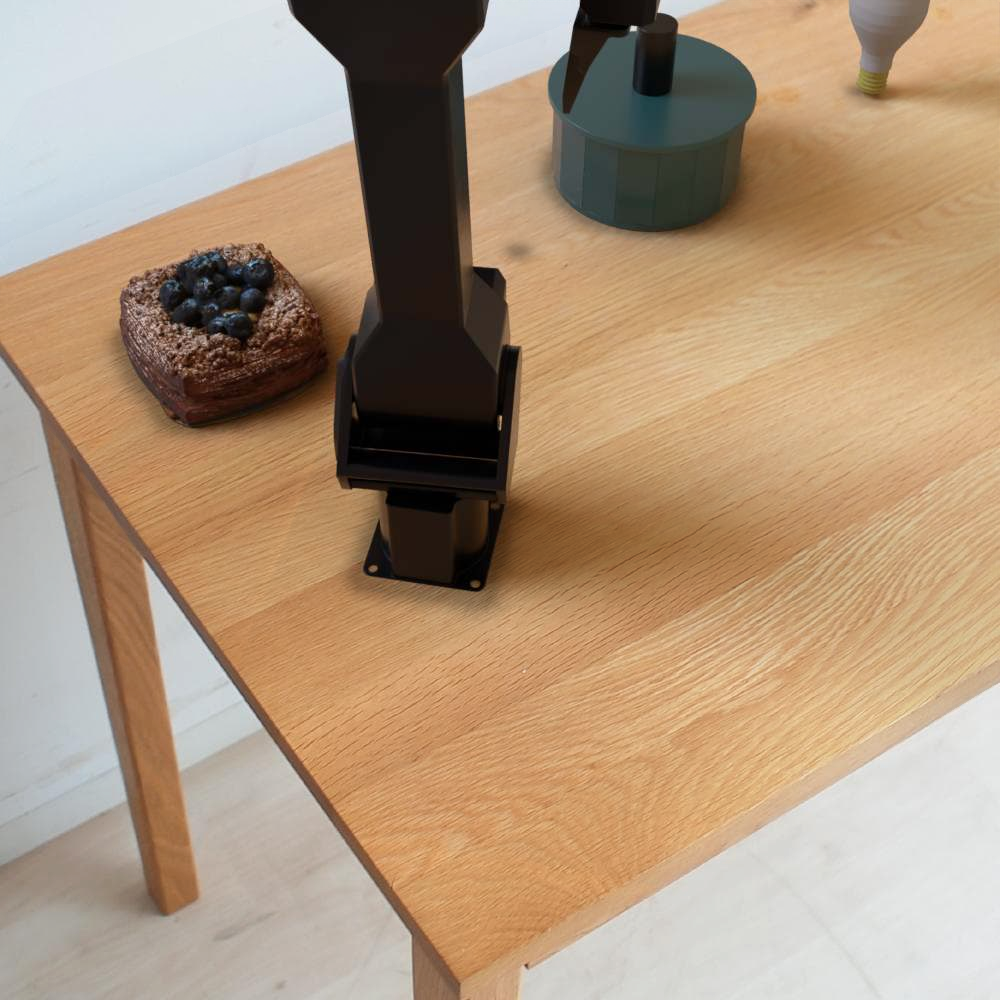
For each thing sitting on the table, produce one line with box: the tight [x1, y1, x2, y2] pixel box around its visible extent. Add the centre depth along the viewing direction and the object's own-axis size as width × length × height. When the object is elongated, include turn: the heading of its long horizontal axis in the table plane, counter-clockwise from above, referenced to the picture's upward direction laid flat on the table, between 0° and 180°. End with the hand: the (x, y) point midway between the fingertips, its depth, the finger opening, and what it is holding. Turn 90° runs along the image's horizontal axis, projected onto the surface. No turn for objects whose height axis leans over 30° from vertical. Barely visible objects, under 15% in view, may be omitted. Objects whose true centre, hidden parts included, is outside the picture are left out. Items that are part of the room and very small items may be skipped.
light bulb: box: [848, 0, 931, 96], centre depth 102 cm, size 6×5×10 cm
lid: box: [547, 12, 758, 153], centre depth 93 cm, size 14×14×6 cm
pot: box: [551, 109, 746, 232], centre depth 97 cm, size 13×13×6 cm
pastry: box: [118, 242, 331, 428], centre depth 85 cm, size 11×12×6 cm
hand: (488, 101), depth 83 cm, fingers open, 9 cm apart
